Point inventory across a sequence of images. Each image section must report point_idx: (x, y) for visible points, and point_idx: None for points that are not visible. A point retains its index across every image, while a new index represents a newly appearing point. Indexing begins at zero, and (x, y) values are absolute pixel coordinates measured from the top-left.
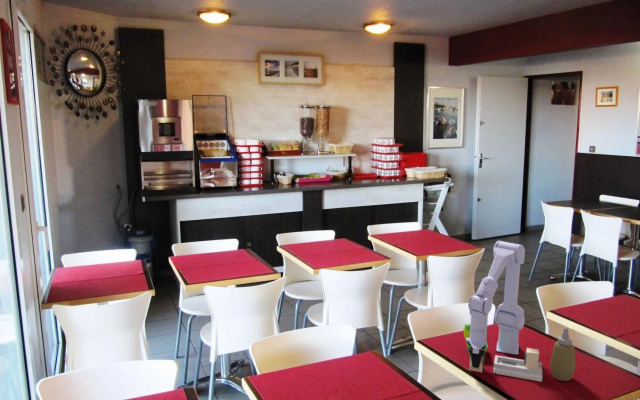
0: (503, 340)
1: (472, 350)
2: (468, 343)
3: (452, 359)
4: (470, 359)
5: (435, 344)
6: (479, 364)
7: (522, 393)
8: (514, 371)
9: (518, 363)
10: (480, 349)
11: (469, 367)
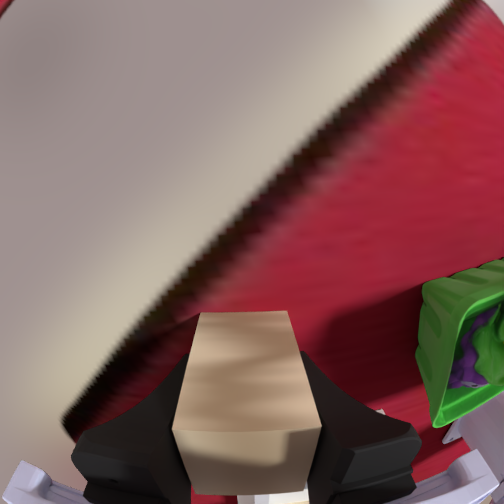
0: (495, 432)
1: (83, 474)
2: (499, 302)
3: (345, 164)
4: (187, 372)
5: (492, 63)
6: None
7: None
8: None
9: None
10: (289, 480)
11: (197, 325)
